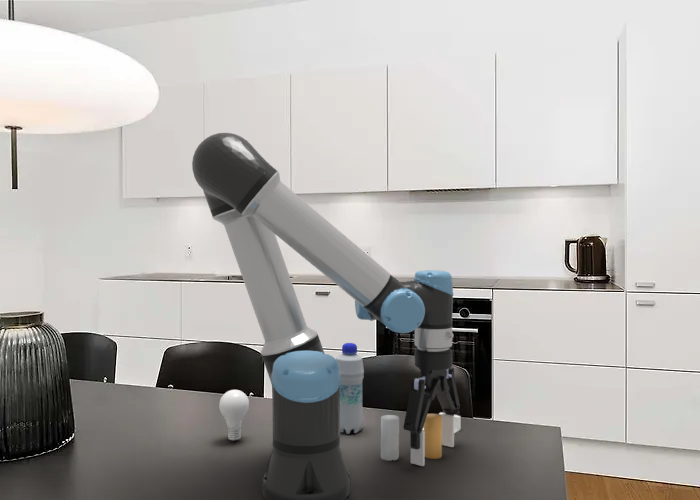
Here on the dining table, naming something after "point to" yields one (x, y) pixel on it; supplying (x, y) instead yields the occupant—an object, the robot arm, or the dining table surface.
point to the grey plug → (389, 437)
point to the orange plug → (433, 436)
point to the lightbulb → (234, 411)
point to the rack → (456, 423)
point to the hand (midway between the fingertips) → (433, 454)
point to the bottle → (350, 389)
